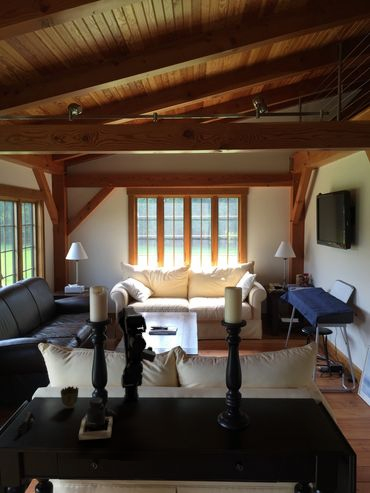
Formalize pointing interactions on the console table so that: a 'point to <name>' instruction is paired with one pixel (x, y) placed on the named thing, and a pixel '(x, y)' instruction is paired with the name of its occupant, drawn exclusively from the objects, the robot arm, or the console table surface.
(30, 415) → the lighter
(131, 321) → the robot arm
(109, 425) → the collar
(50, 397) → the console table surface
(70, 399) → the potted succulent
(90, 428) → the supplement bottle
